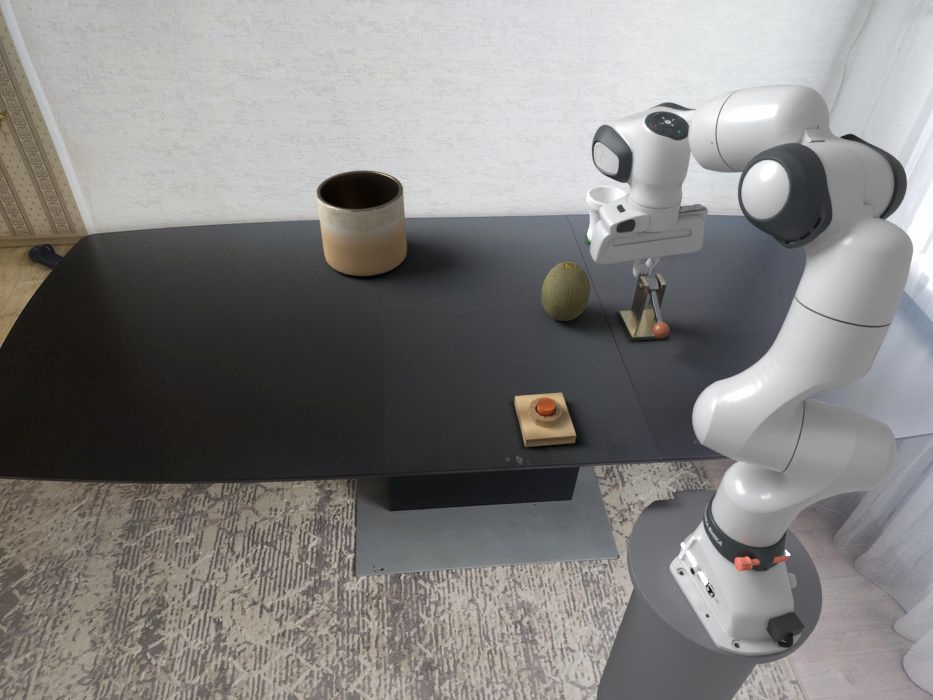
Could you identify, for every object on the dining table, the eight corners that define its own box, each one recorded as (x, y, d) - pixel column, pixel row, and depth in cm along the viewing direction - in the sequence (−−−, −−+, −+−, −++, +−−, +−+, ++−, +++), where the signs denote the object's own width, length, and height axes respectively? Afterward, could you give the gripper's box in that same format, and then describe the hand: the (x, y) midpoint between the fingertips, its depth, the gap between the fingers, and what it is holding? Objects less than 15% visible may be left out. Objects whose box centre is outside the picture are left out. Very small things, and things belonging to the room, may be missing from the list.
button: (556, 416, 130) (557, 410, 129) (538, 417, 130) (539, 411, 129) (552, 403, 133) (553, 397, 132) (534, 404, 133) (535, 398, 131)
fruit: (553, 296, 166) (559, 246, 157) (593, 312, 162) (602, 261, 152) (530, 319, 159) (535, 267, 149) (571, 336, 155) (580, 284, 145)
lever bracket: (664, 338, 155) (677, 291, 146) (631, 341, 154) (643, 293, 145) (650, 312, 162) (662, 266, 153) (618, 314, 161) (628, 268, 152)
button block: (574, 442, 130) (577, 429, 127) (525, 447, 129) (526, 433, 126) (560, 399, 139) (563, 386, 136) (514, 403, 138) (515, 389, 135)
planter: (324, 283, 169) (314, 213, 156) (325, 238, 185) (316, 171, 172) (410, 276, 172) (407, 208, 159) (403, 233, 188) (400, 167, 175)
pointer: (667, 340, 147) (673, 333, 144) (652, 341, 147) (657, 335, 144) (654, 283, 152) (660, 276, 149) (639, 284, 152) (644, 277, 149)
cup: (573, 234, 189) (579, 189, 180) (606, 227, 193) (615, 182, 183) (592, 254, 182) (600, 208, 172) (627, 246, 185) (636, 201, 175)
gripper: (702, 193, 117) (687, 257, 126) (590, 207, 115) (584, 271, 124) (717, 212, 112) (701, 277, 122) (602, 227, 110) (594, 292, 120)
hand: (641, 274), depth 123 cm, fingers closed
